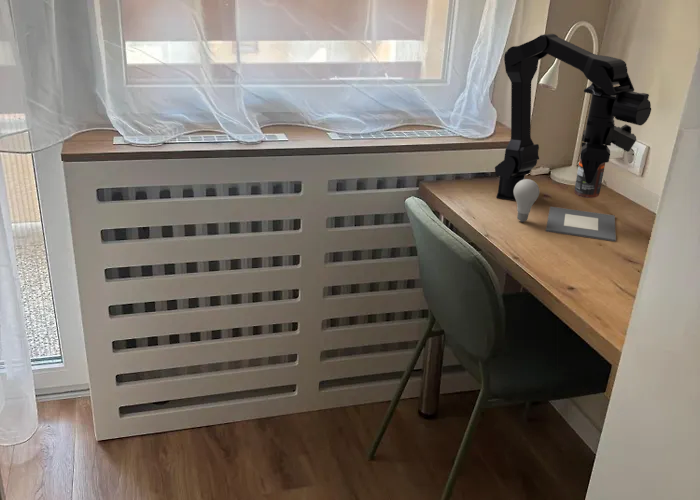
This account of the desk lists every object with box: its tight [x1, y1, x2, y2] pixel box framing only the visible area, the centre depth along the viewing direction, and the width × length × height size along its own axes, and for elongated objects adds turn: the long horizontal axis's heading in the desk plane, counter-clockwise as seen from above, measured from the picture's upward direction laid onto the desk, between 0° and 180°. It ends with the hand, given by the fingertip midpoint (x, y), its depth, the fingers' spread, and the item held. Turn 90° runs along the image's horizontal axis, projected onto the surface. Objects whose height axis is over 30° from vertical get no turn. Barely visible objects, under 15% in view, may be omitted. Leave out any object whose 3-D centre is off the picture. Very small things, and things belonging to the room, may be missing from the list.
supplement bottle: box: [573, 158, 606, 199], centre depth 165 cm, size 6×6×11 cm
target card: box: [545, 206, 617, 243], centre depth 171 cm, size 16×16×1 cm
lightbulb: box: [514, 178, 540, 223], centre depth 169 cm, size 6×6×11 cm
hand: (588, 178), depth 166 cm, fingers closed on supplement bottle, 6 cm apart
